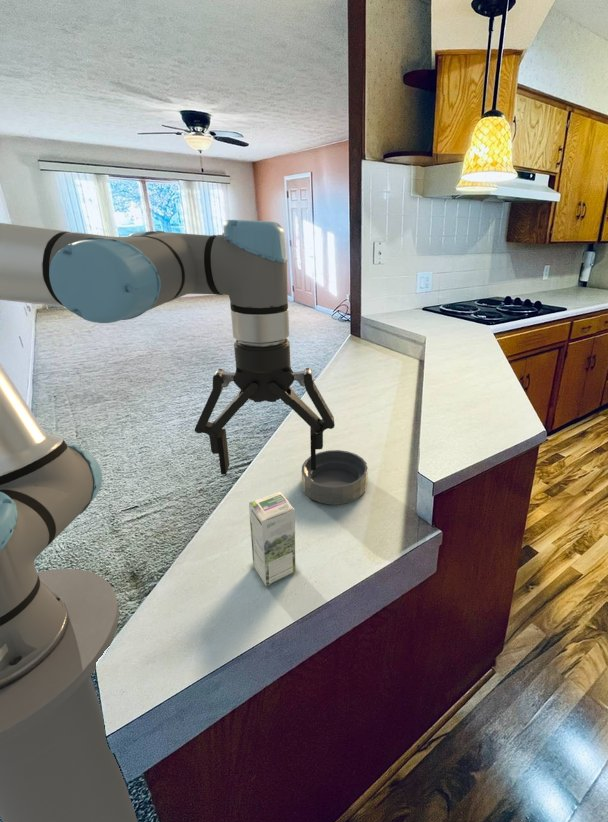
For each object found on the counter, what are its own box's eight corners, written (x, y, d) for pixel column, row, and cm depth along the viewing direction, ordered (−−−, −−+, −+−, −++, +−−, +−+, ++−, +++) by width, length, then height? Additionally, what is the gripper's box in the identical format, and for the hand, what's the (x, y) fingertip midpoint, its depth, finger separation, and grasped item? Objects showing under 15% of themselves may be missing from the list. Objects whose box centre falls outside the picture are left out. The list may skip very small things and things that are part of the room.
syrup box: (282, 552, 77) (279, 488, 72) (296, 573, 73) (295, 507, 68) (252, 566, 74) (247, 500, 68) (266, 588, 70) (261, 520, 64)
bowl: (301, 508, 89) (301, 489, 87) (302, 468, 103) (302, 451, 101) (370, 504, 92) (371, 485, 90) (362, 465, 106) (363, 449, 104)
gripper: (348, 332, 63) (346, 451, 71) (174, 331, 59) (193, 458, 67) (353, 346, 56) (350, 477, 64) (156, 346, 52) (179, 486, 60)
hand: (270, 467), depth 65 cm, fingers open, 13 cm apart
